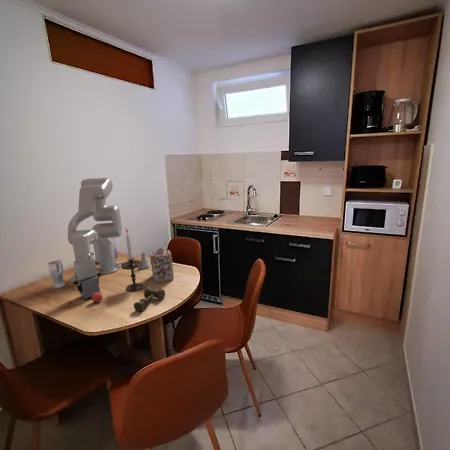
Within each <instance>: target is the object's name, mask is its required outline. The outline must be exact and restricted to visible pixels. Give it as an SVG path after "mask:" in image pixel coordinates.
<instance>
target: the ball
mask: <svg viewBox="0 0 450 450" xmlns="http://www.w3.org/2000/svg"><path fill="white" fill-rule="evenodd" d="M91 300H92V301H93V302H94V303H99V302H101V301H102V300H103V294H102V293H101V292H100V293H99V292H96V293H94V294H93V295H92V296H91Z"/></svg>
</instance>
